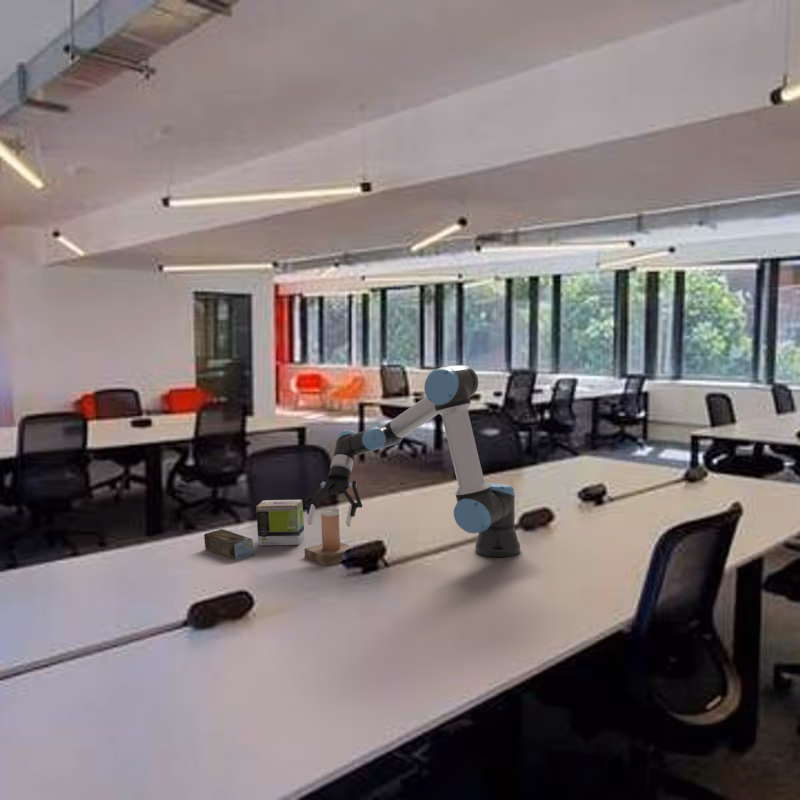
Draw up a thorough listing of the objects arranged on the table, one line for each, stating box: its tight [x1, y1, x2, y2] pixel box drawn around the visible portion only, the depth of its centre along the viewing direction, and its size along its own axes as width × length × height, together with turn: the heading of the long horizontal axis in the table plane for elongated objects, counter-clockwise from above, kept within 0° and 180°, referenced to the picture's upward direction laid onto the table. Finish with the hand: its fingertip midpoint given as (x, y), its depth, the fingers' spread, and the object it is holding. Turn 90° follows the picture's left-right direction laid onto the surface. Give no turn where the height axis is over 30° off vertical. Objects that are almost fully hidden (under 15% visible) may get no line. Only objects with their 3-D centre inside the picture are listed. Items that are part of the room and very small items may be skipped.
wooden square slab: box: [304, 541, 354, 566], centre depth 263 cm, size 13×13×3 cm
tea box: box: [255, 499, 305, 546], centre depth 282 cm, size 15×10×15 cm, turn 84°
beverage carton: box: [203, 528, 254, 560], centre depth 272 cm, size 8×19×7 cm, turn 46°
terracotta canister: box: [320, 508, 341, 551], centre depth 262 cm, size 6×6×13 cm
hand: (328, 523), depth 260 cm, fingers open, 13 cm apart
